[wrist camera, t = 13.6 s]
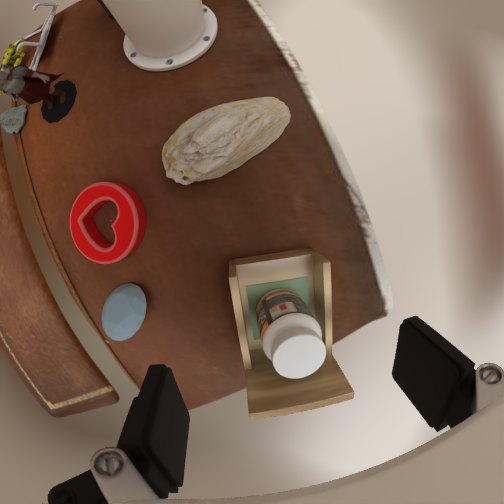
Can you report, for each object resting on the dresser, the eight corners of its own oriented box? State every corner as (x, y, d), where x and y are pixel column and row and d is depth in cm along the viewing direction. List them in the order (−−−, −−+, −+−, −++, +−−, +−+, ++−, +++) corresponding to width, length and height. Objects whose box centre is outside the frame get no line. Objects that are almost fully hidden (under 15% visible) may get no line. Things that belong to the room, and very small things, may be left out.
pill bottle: (247, 299, 30) (254, 345, 20) (294, 278, 30) (322, 317, 20) (266, 338, 31) (279, 392, 22) (310, 319, 31) (338, 367, 22)
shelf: (229, 259, 32) (227, 307, 19) (310, 247, 33) (361, 284, 19) (243, 345, 35) (250, 420, 21) (315, 332, 35) (353, 398, 22)
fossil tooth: (292, 134, 31) (187, 200, 30) (265, 94, 29) (158, 157, 29) (335, 109, 20) (178, 203, 19) (294, 51, 18) (135, 137, 18)
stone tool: (27, 102, 24) (17, 134, 25) (33, 105, 26) (24, 136, 26) (-3, 104, 22) (-12, 133, 23) (3, 106, 24) (-6, 134, 25)
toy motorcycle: (34, 41, 20) (22, 41, 21) (19, 35, 16) (8, 37, 17) (3, 107, 23) (-6, 101, 24) (-14, 105, 19) (-21, 99, 20)
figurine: (41, 129, 26) (-30, 113, 12) (43, 87, 25) (-19, 59, 10) (76, 113, 27) (5, 84, 12) (78, 70, 25) (18, 29, 10)
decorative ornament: (74, 195, 29) (61, 196, 26) (136, 172, 29) (127, 170, 26) (91, 265, 31) (80, 271, 28) (154, 249, 31) (146, 255, 28)
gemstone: (166, 343, 31) (142, 333, 27) (120, 351, 32) (95, 342, 28) (163, 288, 35) (141, 272, 31) (120, 301, 36) (98, 287, 32)
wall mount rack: (43, 61, 20) (8, 61, 15) (26, 98, 28) (-1, 100, 23) (67, -9, 17) (38, -12, 12) (42, 33, 24) (18, 32, 20)
